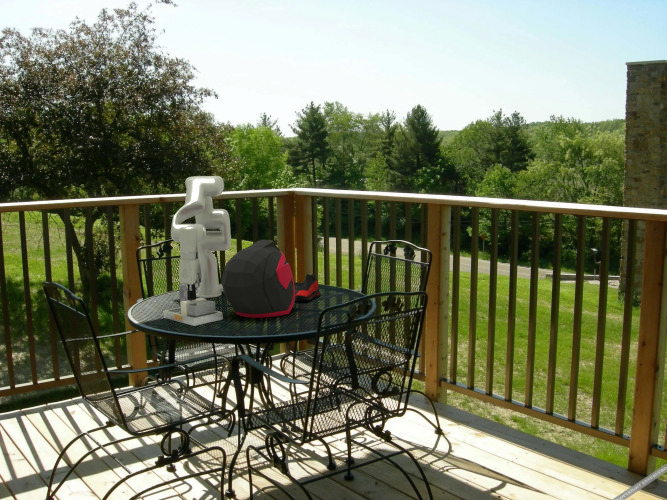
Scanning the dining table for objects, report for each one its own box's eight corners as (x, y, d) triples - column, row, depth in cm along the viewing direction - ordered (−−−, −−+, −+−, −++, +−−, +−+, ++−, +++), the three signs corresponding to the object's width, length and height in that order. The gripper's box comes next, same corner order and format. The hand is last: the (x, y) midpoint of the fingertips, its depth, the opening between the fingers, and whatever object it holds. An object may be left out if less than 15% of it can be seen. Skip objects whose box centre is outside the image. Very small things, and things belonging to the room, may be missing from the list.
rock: (198, 305, 294) (196, 283, 293) (187, 307, 290) (186, 285, 289) (184, 302, 301) (183, 281, 300) (174, 305, 297) (173, 282, 296)
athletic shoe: (290, 303, 297) (289, 277, 296) (308, 294, 316) (308, 270, 314) (305, 304, 294) (304, 278, 293) (322, 295, 313) (322, 271, 312)
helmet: (311, 287, 288) (292, 230, 273) (275, 333, 266) (252, 274, 251) (263, 282, 302) (243, 228, 287) (225, 326, 280) (201, 269, 265)
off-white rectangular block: (181, 318, 268) (180, 301, 267) (201, 313, 275) (200, 297, 274) (186, 319, 265) (186, 303, 264) (206, 315, 273) (206, 298, 272)
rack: (163, 317, 272) (162, 300, 271) (191, 311, 282) (190, 294, 281) (193, 326, 257) (193, 307, 256) (222, 319, 268) (221, 301, 267)
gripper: (171, 255, 269) (174, 298, 271) (192, 258, 259) (195, 303, 261) (187, 253, 274) (189, 296, 277) (208, 256, 264) (210, 300, 267)
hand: (191, 299), depth 269 cm, fingers closed
